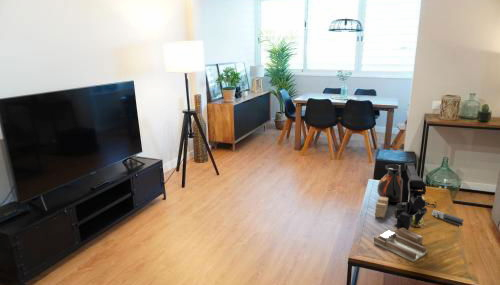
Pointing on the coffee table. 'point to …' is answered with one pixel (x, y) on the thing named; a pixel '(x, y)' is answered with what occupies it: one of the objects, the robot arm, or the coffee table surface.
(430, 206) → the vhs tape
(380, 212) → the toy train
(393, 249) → the jig
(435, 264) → the coffee table surface
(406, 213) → the robot arm
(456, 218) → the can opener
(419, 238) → the long tan block
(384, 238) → the white rectangular block
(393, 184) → the amphora vase
